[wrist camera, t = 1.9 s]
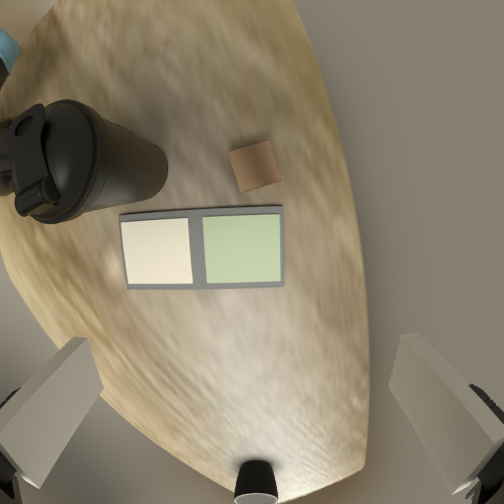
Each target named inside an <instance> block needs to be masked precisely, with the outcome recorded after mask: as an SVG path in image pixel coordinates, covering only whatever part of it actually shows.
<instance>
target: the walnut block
mask: <svg viewBox="0 0 504 504" xmlns="http://www.w3.org/2000/svg"><path fill="white" fill-rule="evenodd" d="M228 155H229V158H230V161H231V164H232V168H233V171H234V174H235V177H236V180H237V184H238V187H239V190H240V193H243V192H246V191H249V190H252V189H256V188H259V187H262V186H266V185H269V184H273V183H276V182H279V181H282V179H281V175H280V172H279V169H278V166H277V163H276V159H275V156H274V153H273V150H272V147H271V144H270V141H269V140H267V141H263V142H260V143H256V144H253V145H249V146H246V147H243V148H239V149H236V150H233V151H230V152H228Z"/></svg>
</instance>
